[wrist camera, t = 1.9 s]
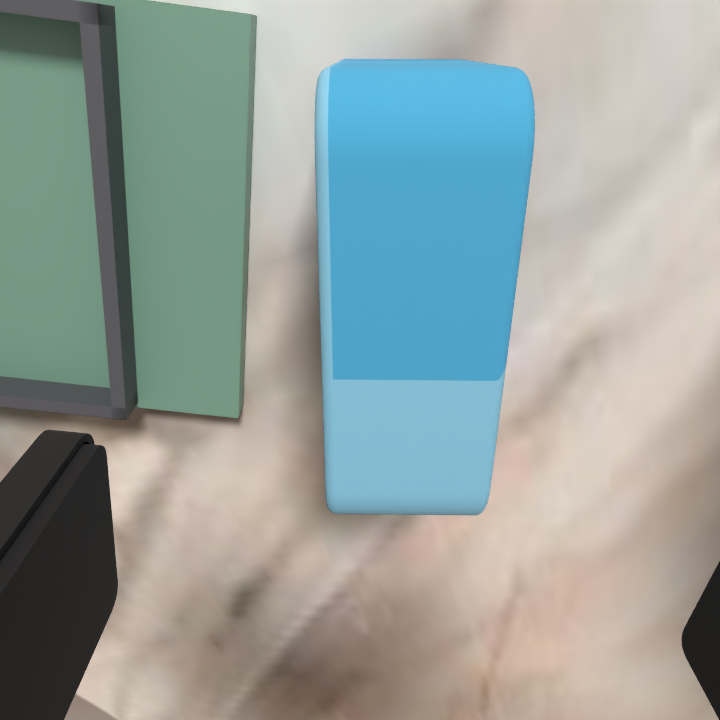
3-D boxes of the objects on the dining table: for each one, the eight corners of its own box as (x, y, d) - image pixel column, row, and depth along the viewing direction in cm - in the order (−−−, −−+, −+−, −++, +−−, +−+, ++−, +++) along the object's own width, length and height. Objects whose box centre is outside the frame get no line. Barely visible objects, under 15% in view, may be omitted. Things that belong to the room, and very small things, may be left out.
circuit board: (256, 15, 22) (242, 12, 19) (243, 404, 29) (231, 436, 27) (-266, -55, 21) (-349, -68, 18) (-141, 363, 28) (-188, 392, 26)
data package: (441, 351, 28) (486, 540, 17) (342, 350, 28) (326, 538, 17) (462, 58, 22) (547, 70, 12) (339, 58, 22) (311, 69, 12)
